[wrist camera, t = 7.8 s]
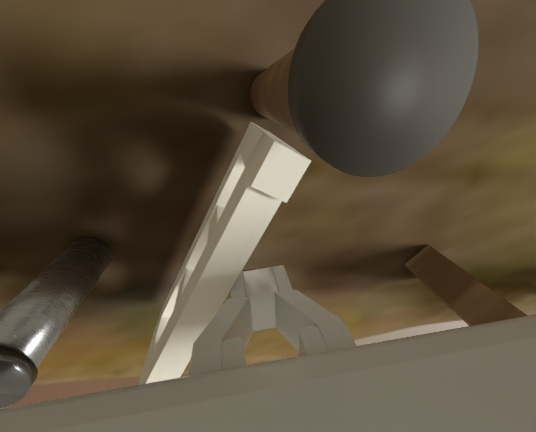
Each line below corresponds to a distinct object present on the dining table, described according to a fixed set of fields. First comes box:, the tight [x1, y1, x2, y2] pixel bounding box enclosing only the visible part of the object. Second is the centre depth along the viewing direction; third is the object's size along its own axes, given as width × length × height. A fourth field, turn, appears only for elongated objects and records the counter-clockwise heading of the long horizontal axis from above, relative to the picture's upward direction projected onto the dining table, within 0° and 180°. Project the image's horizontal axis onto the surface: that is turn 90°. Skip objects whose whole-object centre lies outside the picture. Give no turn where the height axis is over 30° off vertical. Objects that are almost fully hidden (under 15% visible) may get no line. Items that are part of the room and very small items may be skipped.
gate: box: [138, 122, 311, 385], centre depth 12 cm, size 14×1×6 cm, turn 151°
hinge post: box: [250, 0, 478, 177], centre depth 9 cm, size 3×3×11 cm
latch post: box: [0, 237, 113, 408], centre depth 12 cm, size 3×3×8 cm
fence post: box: [404, 245, 527, 326], centre depth 17 cm, size 2×2×9 cm
